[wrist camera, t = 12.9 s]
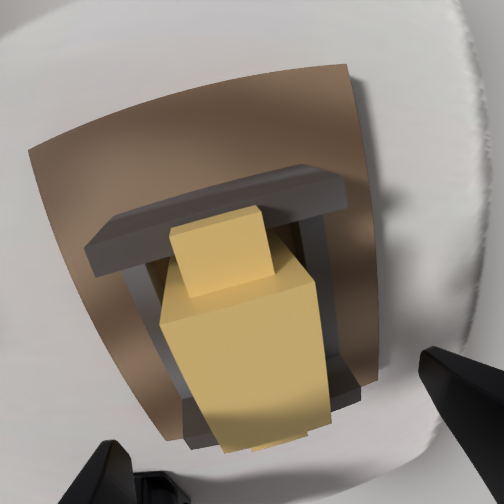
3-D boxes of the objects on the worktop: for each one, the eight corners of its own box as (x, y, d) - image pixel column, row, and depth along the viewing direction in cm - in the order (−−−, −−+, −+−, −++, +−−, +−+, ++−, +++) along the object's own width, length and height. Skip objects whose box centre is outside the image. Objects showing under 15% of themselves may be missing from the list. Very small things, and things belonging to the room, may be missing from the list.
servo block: (294, 360, 16) (333, 446, 11) (221, 380, 16) (237, 474, 11) (255, 178, 13) (303, 212, 7) (159, 204, 13) (133, 259, 7)
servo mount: (367, 366, 20) (407, 422, 15) (166, 424, 19) (166, 492, 14) (332, 69, 13) (398, 44, 8) (42, 148, 12) (-26, 159, 7)
